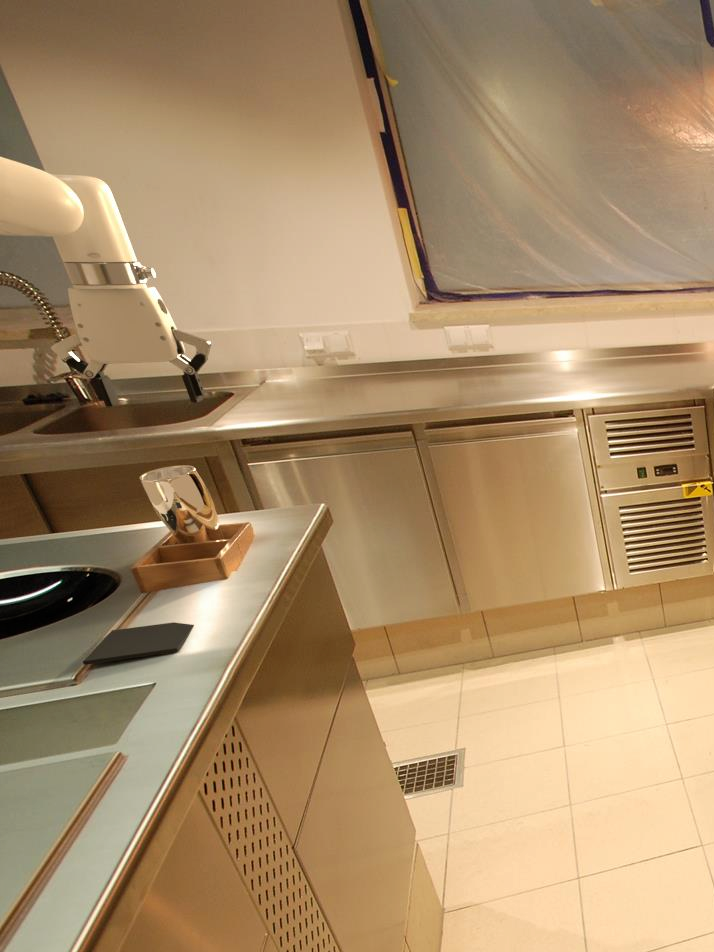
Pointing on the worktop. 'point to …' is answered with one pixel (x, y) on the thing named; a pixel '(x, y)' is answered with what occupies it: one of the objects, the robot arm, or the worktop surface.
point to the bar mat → (140, 642)
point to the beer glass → (183, 503)
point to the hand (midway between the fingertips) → (156, 403)
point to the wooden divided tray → (192, 559)
